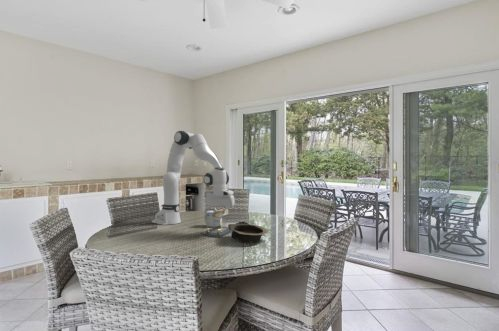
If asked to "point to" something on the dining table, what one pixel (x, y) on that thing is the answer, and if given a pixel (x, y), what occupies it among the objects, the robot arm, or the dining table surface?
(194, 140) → the robot arm
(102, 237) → the dining table surface
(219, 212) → the birch board
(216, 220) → the light bulb box
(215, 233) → the chassis
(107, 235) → the dining table surface
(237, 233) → the stone bowl
